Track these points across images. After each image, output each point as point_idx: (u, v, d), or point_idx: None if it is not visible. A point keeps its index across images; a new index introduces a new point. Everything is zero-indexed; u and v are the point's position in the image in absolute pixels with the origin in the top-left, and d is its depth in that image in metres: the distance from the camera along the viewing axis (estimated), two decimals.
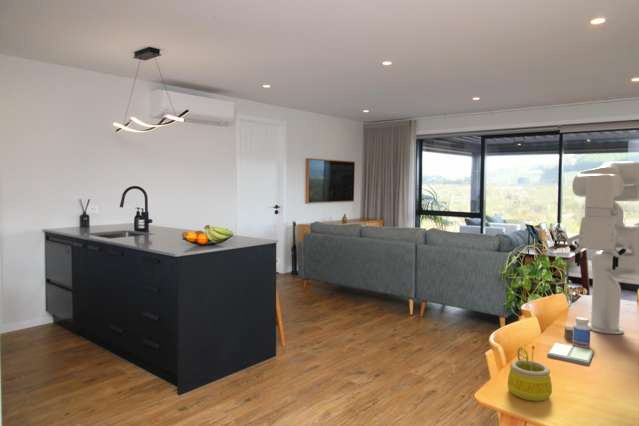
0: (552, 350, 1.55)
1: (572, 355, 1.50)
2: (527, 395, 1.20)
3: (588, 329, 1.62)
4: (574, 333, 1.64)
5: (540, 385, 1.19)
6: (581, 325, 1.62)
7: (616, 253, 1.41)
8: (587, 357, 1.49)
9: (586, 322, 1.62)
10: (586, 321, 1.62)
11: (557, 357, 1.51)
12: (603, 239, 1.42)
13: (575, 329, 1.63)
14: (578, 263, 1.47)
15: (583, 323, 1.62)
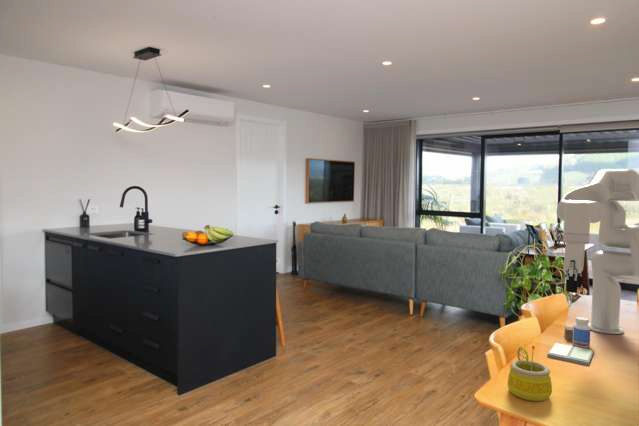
0: (552, 350, 1.55)
1: (572, 355, 1.50)
2: (527, 395, 1.20)
3: (588, 329, 1.62)
4: (574, 333, 1.64)
5: (540, 385, 1.19)
6: (581, 325, 1.62)
7: None
8: (587, 357, 1.49)
9: (586, 322, 1.62)
10: (586, 321, 1.62)
11: (557, 357, 1.51)
12: (583, 262, 1.53)
13: (575, 329, 1.63)
14: None
15: (583, 323, 1.62)
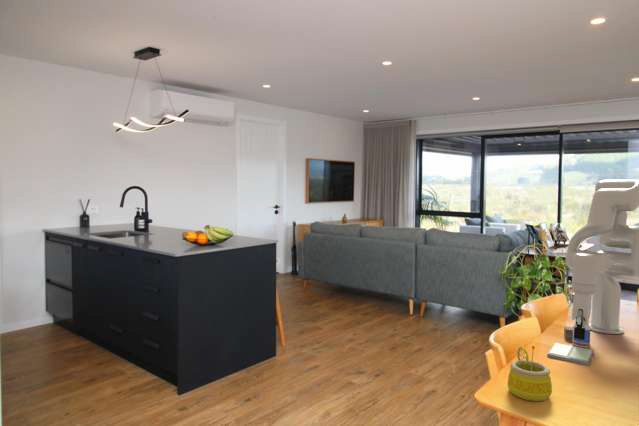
0: (552, 350, 1.55)
1: (572, 355, 1.50)
2: (527, 395, 1.20)
3: (588, 329, 1.62)
4: None
5: (540, 385, 1.19)
6: None
7: None
8: (587, 357, 1.49)
9: (586, 322, 1.62)
10: None
11: (557, 357, 1.51)
12: (590, 310, 1.63)
13: None
14: None
15: None
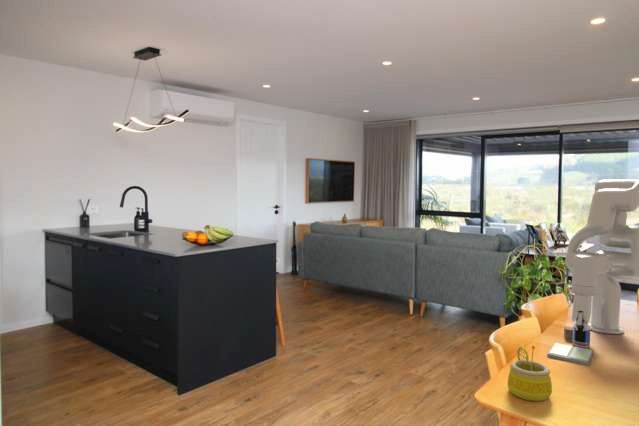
0: (552, 350, 1.55)
1: (572, 355, 1.50)
2: (527, 395, 1.20)
3: (588, 329, 1.62)
4: (574, 333, 1.64)
5: (540, 385, 1.19)
6: None
7: None
8: (587, 357, 1.49)
9: None
10: None
11: (557, 357, 1.51)
12: (590, 311, 1.64)
13: (575, 329, 1.63)
14: None
15: None
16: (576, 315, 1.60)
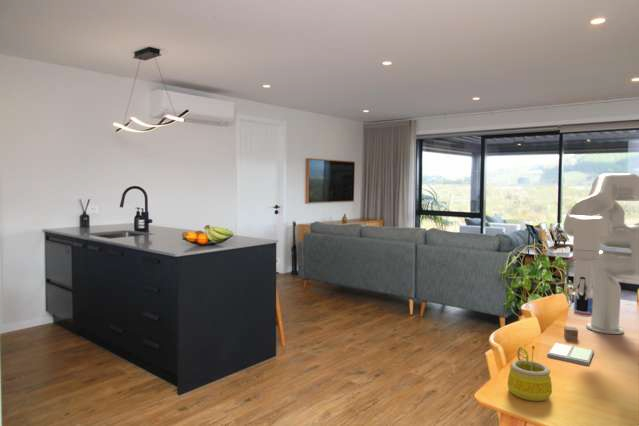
0: (552, 350, 1.55)
1: (572, 355, 1.50)
2: (527, 395, 1.20)
3: (590, 297, 1.49)
4: (575, 302, 1.52)
5: (540, 385, 1.19)
6: None
7: None
8: (587, 357, 1.49)
9: None
10: None
11: (557, 357, 1.51)
12: (593, 278, 1.52)
13: (576, 297, 1.51)
14: None
15: None
16: (578, 282, 1.48)
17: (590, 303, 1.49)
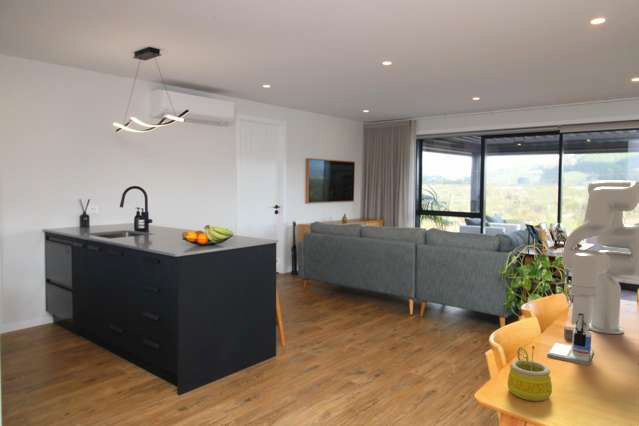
0: (552, 350, 1.55)
1: (572, 355, 1.50)
2: (527, 395, 1.20)
3: (589, 336, 1.50)
4: None
5: (540, 385, 1.19)
6: None
7: None
8: (587, 357, 1.49)
9: (587, 328, 1.51)
10: (587, 327, 1.51)
11: (557, 357, 1.51)
12: (591, 313, 1.52)
13: None
14: None
15: None
16: (576, 318, 1.49)
17: (588, 341, 1.51)
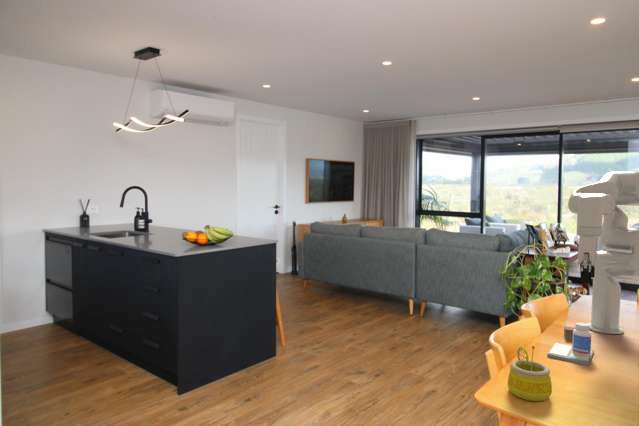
0: (552, 350, 1.55)
1: (572, 355, 1.50)
2: (527, 395, 1.20)
3: (589, 336, 1.50)
4: (574, 340, 1.53)
5: (540, 385, 1.19)
6: (581, 331, 1.51)
7: None
8: (587, 357, 1.49)
9: (587, 328, 1.51)
10: (587, 327, 1.51)
11: (557, 357, 1.51)
12: None
13: (575, 335, 1.52)
14: None
15: (583, 329, 1.51)
16: (582, 257, 1.55)
17: (588, 341, 1.51)
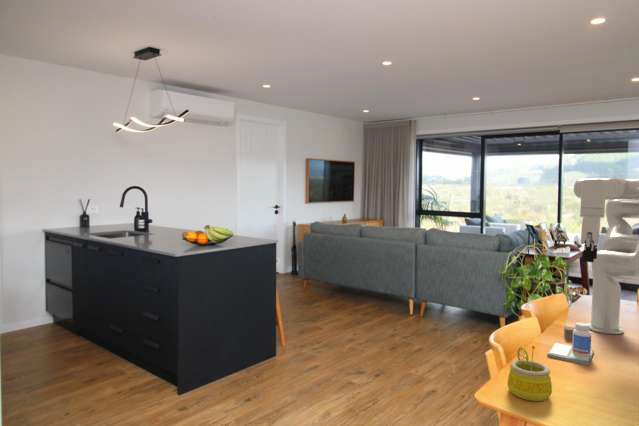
0: (552, 350, 1.55)
1: (572, 355, 1.50)
2: (527, 395, 1.20)
3: (589, 336, 1.50)
4: (574, 340, 1.53)
5: (540, 385, 1.19)
6: (581, 331, 1.51)
7: (596, 244, 1.69)
8: (587, 357, 1.49)
9: (587, 328, 1.51)
10: (587, 327, 1.51)
11: (557, 357, 1.51)
12: None
13: (575, 335, 1.52)
14: None
15: (583, 329, 1.51)
16: (585, 237, 1.62)
17: (588, 341, 1.51)
